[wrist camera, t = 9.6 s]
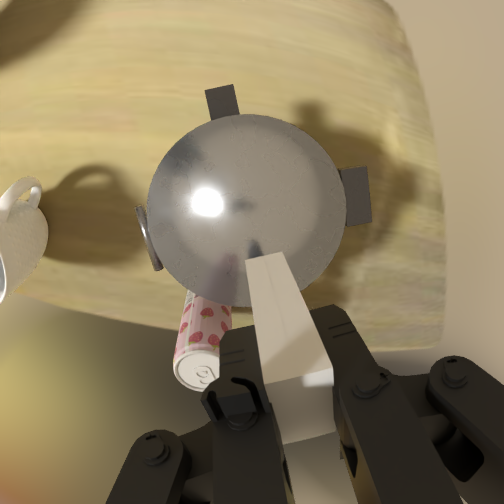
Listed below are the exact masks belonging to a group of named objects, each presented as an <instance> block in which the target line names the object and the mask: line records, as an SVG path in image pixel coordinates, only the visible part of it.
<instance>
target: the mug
mask: <svg viewBox="0 0 504 504" xmlns="http://www.w3.org/2000/svg"><path fill="white" fill-rule="evenodd" d="M30 188H32V190H31V194H30V197H29V199H28V201H25V200H21V199H18V198H19V197H20V196H21V195H22V194H23V193H25V192H26V191H27V190H29V189H30ZM41 192H42V187H41V184H40V182H39V181H38V180H37V179H36V178H35V177H33V176H27V177H23V178H21V179H20V180H18V181H16V182H15V183H14V184H13V185H11V186H10V187H9V188H8V189H7V191H6V192H5V193H4V194H3V195H2V197H1V198H0V304H1V303H2V302H3V301H4V300H5V299H6V298H7V297H8V296H9V295H11V294H12V292H13V291H15V290H16V289H17V288H18V287H19V286H20V285H21V284H22V283H23V282H24V280H26V279H27V278H28V276H29V275H30V274H31V273H32V271H33V270H34V269H35V268H36V266H37V264H38V263H39V261H40V259H41V258H42V255H43V253H44V252H45V249H46V245H47V241H48V225H47V221H46V218H45V216H44V214H43V213H42V212H41V210H40V209H39V208H38V204H39V201H40V198H41Z"/></svg>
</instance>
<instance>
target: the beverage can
mask: <svg viewBox="0 0 504 504" xmlns="http://www.w3.org/2000/svg"><path fill="white" fill-rule="evenodd" d="M227 330H232V320H231V306H228V305H223V304H219V303H215V302H212V301H209V300H207V299H205V298H202V297H200V296H198V295H196V294H195V293H193V292H191V291H190V290H188V292H187V296H186V301H185V305H184V310H183V315H182V320H181V324H180V329H179V334H178V339H177V344H176V349H175V354H174V360H173V366H174V373H175V376H176V377H177V379H178V380H179V381H180V382H181V383H182V384H183V385H185V386H186V387H188V388H190V389H193V390H196V391H204V390H205V389H206V387H207V386H208V385H209V384H210V383H211V382H212V381H214V380H216V379H217V378H219V366H220V365H219V356H220V355H219V342H220V340H221V338H222V337H223V335H224V333H225V331H227Z"/></svg>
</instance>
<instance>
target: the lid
mask: <svg viewBox="0 0 504 504" xmlns="http://www.w3.org/2000/svg"><path fill="white" fill-rule="evenodd" d="M134 209H135V212H136V216H137V219H138V222H139V225H140V229H141V232H142V235H143V238H144V241H145V244H146V247H147V250H148V253H149V256H150V259H151V262H152V265H153V268H154V270H155V271H159V270H162V269H163V268H164V267H163V265H164V266H165V268H166V269H167V270H168V272H169V273H170V274H171V275H172V276H173V277H174V278H175V279H176V280H177V281H178V282H179V283H180V284H182V285H183V286H184V287H185V288H187V289H188V290H190V291H191V292H193V293H195V294H196V295H198V296H200V297H202V298H205V299H207V300H209V301H212V302H215V303H219V304H223V305H228V306H236V307H252V304H251V297H250V291H249V284H248V278H247V271H246V265H245V260H247V259H252V258H256V257H260V256H265V255H269V254H273V253H278V252H282V253H283V255H284V257H285V259H286V262H287V264H288V266H289V268H290V270H291V273H292V275H293V277H294V279H295V281H296V284H297V286H298V288H299V290H300V291H302V290H303V289H305V288H306V287H307V286H309V285H310V284H311V283H312V282H313V281H315V280H316V279H317V278H318V277H319V276H320V275H321V274H322V272H323V271H324V270H325V269H326V268H327V266H328V265H329V263H330V262H331V260H332V259H333V257H334V255H335V253H336V252H337V250H338V248H339V245H340V242H341V239H342V237H343V232H344V228H345V225H346V226H347V227H349V226H354V225H359V224H364V223H368V222H372V216H371V203H370V193H369V183H368V174H367V166H365V165H359V166H353V167H346V168H340V169H338V171H337V169H336V167H335V165H334V163H333V161H332V160H331V158H330V157H329V155H328V154H327V152H326V151H325V150H324V149H323V148H322V147H321V146H320V145H319V143H318V142H317V141H315V140H314V139H313V138H312V137H311V136H309V135H308V134H307V133H306V132H304V131H302V130H301V129H299V128H297V127H296V126H294V125H292V124H289V123H287V122H285V121H282V120H279V119H276V118H272V117H269V116H262V115H254V114H244V115H233V116H226V117H222V118H219V119H215V120H212V121H210V122H207V123H205V124H203V125H201V126H199V127H197V128H195V129H194V130H192V131H191V132H189V133H187V134H186V135H185V136H184V137H182V138H181V139H180V140H179V141H178V142H177V143H175V145H174V146H173V147H172V148H171V149H170V150H169V151H168V152H167V154H166V155H165V156H164V158H163V160H162V161H161V163H160V164H159V166H158V168H157V170H156V172H155V174H154V176H153V179H152V182H151V185H150V188H149V193H148V199H147V213H146V210H145V207H144V204H142V205H138V206H136V207H134Z"/></svg>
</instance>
